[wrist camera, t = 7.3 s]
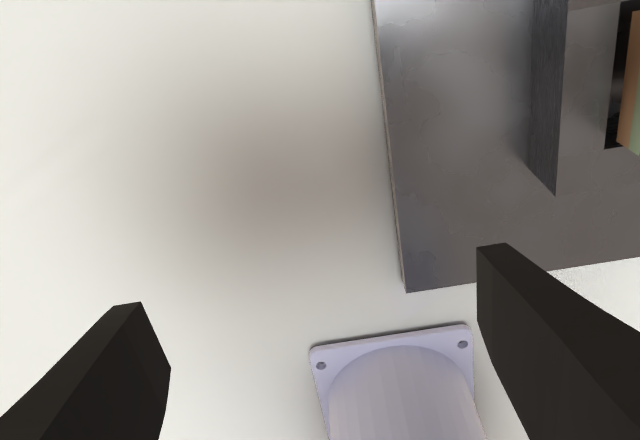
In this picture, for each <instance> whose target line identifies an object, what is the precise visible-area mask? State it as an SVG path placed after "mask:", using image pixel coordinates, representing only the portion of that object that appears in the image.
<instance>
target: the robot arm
mask: <svg viewBox="0 0 640 440" xmlns="http://www.w3.org/2000/svg"><path fill="white" fill-rule="evenodd" d="M476 275H477V322H478V325H479V328H480V331H481V334H482V337H483V339H484V342H485V345H486V348H487V351H488V354H489V356H490V359H491V362H492V364H493V366H494V368H495V371H496V373H497V375H498V377H499V379H500V381H501V383H502V385H503V387H504V389H505V391H506V393H507V395H508V397H509V399H510V401H511V403H512V405H513V407H514V409H515V411H516V413H517V415H518V417H519V419H520V421H521V423H522V425H523V427H524V429H525V431H526V433H527V435H528V437H529V439H530V440H640V332H639V331H637V330H635V329H634V328H632V327H630V326H629V325H627V324H625V323H624V322H622V321H620V320H619V319H617V318H615V317H614V316H612V315H610V314H609V313H607V312H605V311H604V310H602V309H601V308H599V307H598V306H596V305H594V304H593V303H591V302H590V301H588V300H587V299H585V298H584V297H582V296H581V295H579V294H578V293H576V292H575V291H573V290H572V289H570V288H569V287H567V286H566V285H564V284H563V283H561V282H560V281H559V280H557V279H556V278H554V277H553V276H551V275H550V274H549V273H547V272H546V271H544V270H543V269H542V268H540V267H539V266H538V265H536V264H535V263H533V262H532V261H531V260H529V259H528V258H527V257H525V256H524V255H523V254H521V253H520V252H518V251H517V250H516V249H514V248H513V247H512V246H510V245H509V244H507V243H506V242H505V243H499V244H492V245H486V246H480V247H476ZM460 341H464V342H462V343H459V342H460ZM309 360H310V364H311V368H312V372H313V376H314V380H315V384H316V388H317V392H318V396H319V400H320V404H321V408H322V413H323V417H324V421H325V425H326V429H327V433H328V437H329V440H487V437H486V434H485V431H484V429H483V426H482V423H481V421H480V418H479V415H478V412H477V410H476V407H475V404H474V373H473V338H472V332H471V329H470V327H468V326H467V325H464V324H459V325H452V326H446V327H439V328H433V329H426V330H420V331H413V332H407V333H400V334H393V335H387V336H380V337H374V338H367V339H361V340H354V341H347V342H341V343H334V344H328V345H321V346H316V347H313V348H312V349H311V350H310V352H309ZM319 362H324V363H323V364H319ZM170 373H171V367H170V365H169V363H168V360H167V358H166V356H165V354H164V352H163V349H162V347H161V345H160V343H159V341H158V338H157V336H156V334H155V332H154V330H153V327H152V325H151V323H150V321H149V318H148V316H147V314H146V312H145V310H144V307H143V305H142V303H141V302H134V303H128V304H122V305H116V306H113V307H112V308H111V309H110V310H108V311H107V312H106V313H105V314H104V315H103V316H102V317H101V318H100V319H99V320H98V321H97V322H96V323H95V324H94V325H93V326H92V327H91V328H90V329H89V330H88V331H87V332H86V333H85V334H84V335H83V336H82V337H81V338H80V339H79V340H78V342H77V343H76V344H75V345H74V346H73V347H72V348H71V349H70V350H69V351H68V352H67V353H66V354H65V355H64V356H63V357H62V358H61V359H60V360H59V361H58V362H57V363H56V364H55V365H54V366H53V367H52V368H51V369H50V370H49V371H48V372H47V373H46V374H45V375H44V376H43V377H42V378H41V379H40V380H39V381H38V382H37V383H36V384H35V385H34V386H33V387H32V388H31V389H30V390H29V391H28V392H27V393H26V394H25V395H23V396H22V397H21V398H20V399H19V400H18V401H17V402H16V403H15V404H14V405H13V406H12V407H11V408H10V409H9V410H8V411H7V412H6V413H5V414H3V415H2V416H1V417H0V440H158V439H159V435H160V431H161V427H162V424H163V420H164V416H165V411H166V404H167V397H168V390H169V381H170Z"/></svg>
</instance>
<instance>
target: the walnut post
mask: <svg viewBox="0 0 640 440" xmlns="http://www.w3.org/2000/svg"><path fill="white" fill-rule="evenodd" d="M616 141H617V142H618V143H620V144H621V145H623V146H624V147H626V148H627V149H629V150H630V151H632V152H633V153H635V154H636V155H638V156H639V157H640V10H638V11H633V12H632V20H631V28H630V35H629V43H628V51H627V59H626V67H625V75H624V83H623V91H622V99H621V107H620V115H619V123H618V131H617V139H616Z"/></svg>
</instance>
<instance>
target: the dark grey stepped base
mask: <svg viewBox="0 0 640 440" xmlns="http://www.w3.org/2000/svg"><path fill="white" fill-rule="evenodd" d="M371 4H372V13H373V22H374V31H375V40H376V49H377V58H378V67H379V76H380V85H381V94H382V103H383V112H384V121H385V130H386V139H387V148H388V157H389V166H390V175H391V184H392V193H393V201H394V210H395V219H396V228H397V237H398V246H399V255H400V264H401V273H402V281H403V284H404V288H405V291H406V293H411V292H418V291H424V290H431V289H437V288H443V287H450V286H456V285H462V284H469V283H475V282H477V275H476V247H480V246H486V245H492V244H499V243H505V242H506V243H507V244H509V245H510V246H512V247H513V248H514V249H516V250H517V251H518V252H520V253H521V254H523V255H524V256H525V257H527V258H528V259H529V260H531V261H532V262H533V263H535V264H536V265H538V266H539V267H540V268H542V269H543V270H544V271H552V270H558V269H565V268H571V267H578V266H584V265H590V264H597V263H603V262H610V261H616V260H622V259H629V258H635V257H640V157H639V156H638V155H636V154H635V153H633V152H632V151H630V150H629V149H627V148H626V147H624V146H623V145H621V144H620V143H618V142H617V141H616V139H617V131H618V123H619V115H620V107H621V99H622V91H623V83H624V75H625V67H626V59H627V51H628V43H629V35H630V28H631V20H632V12H633V11H638V10H640V0H371Z"/></svg>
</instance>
